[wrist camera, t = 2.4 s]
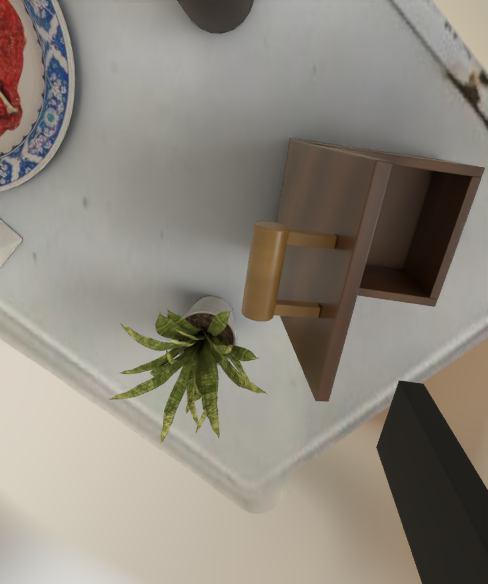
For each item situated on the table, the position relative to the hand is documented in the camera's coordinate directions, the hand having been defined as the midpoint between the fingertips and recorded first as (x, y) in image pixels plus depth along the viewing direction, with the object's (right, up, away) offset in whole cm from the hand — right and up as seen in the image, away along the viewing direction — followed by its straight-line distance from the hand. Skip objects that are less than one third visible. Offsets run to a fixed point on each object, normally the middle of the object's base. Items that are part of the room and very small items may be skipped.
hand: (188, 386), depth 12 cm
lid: (+6, +6, +14) cm, 16 cm away
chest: (+13, +12, +30) cm, 35 cm away
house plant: (-3, +1, +36) cm, 36 cm away
